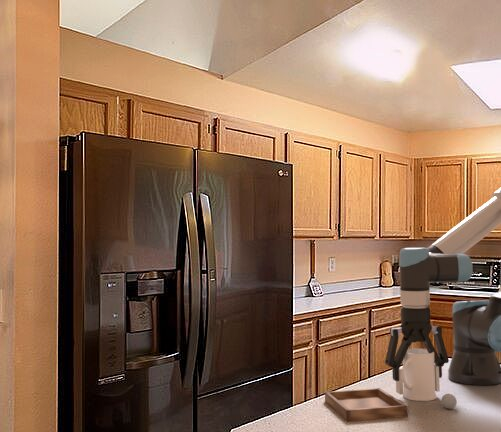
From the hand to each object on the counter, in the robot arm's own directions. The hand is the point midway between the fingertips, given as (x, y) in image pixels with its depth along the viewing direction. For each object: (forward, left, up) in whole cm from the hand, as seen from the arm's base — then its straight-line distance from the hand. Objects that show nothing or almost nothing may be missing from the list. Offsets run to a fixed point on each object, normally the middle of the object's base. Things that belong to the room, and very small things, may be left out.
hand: (417, 391), depth 160 cm
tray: (+17, +6, -2) cm, 18 cm away
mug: (+1, 0, -2) cm, 2 cm away
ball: (-3, +11, -2) cm, 12 cm away
